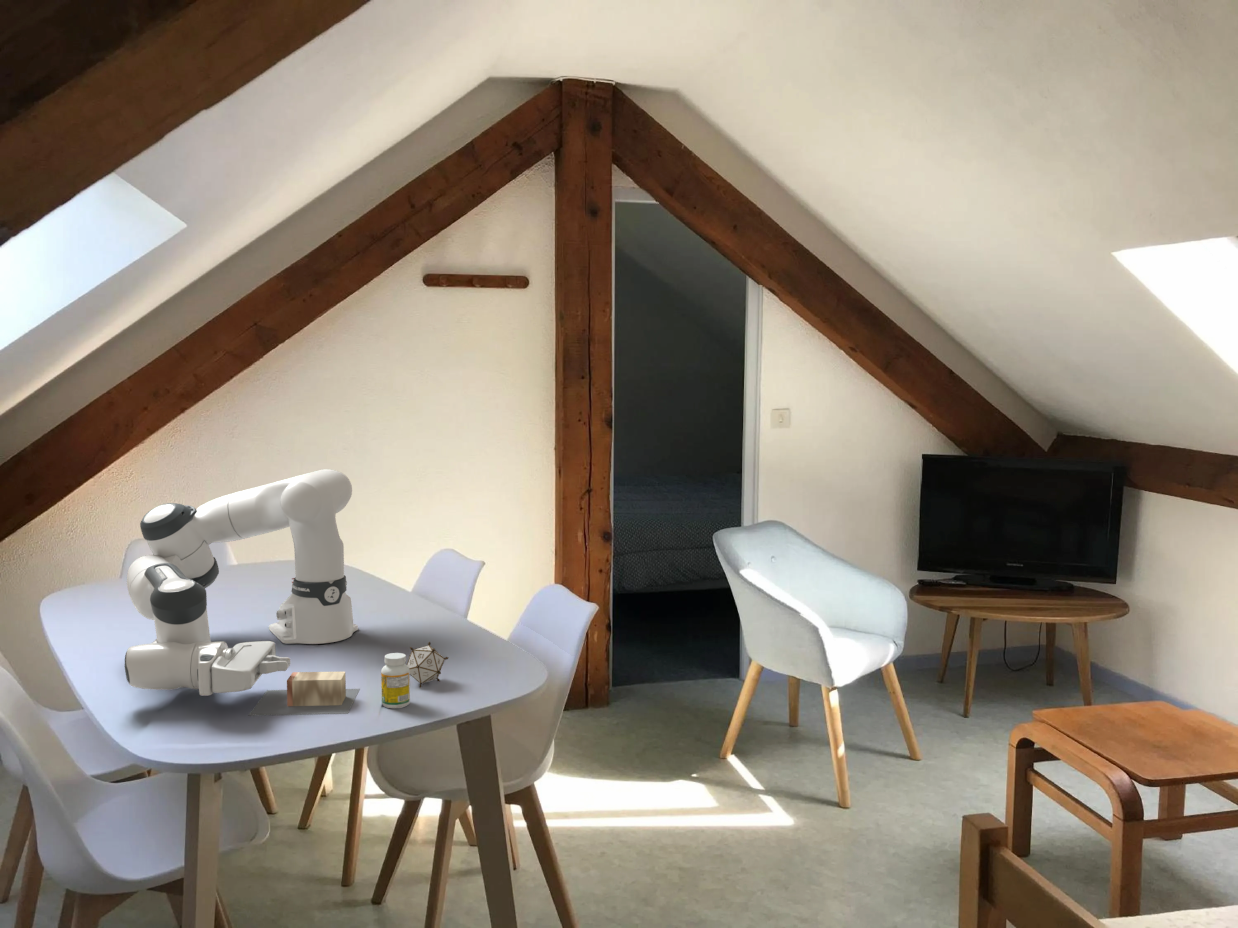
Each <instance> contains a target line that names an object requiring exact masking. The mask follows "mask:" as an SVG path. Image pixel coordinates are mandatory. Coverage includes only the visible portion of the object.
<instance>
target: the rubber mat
mask: <svg viewBox="0 0 1238 928" xmlns="http://www.w3.org/2000/svg"><path fill="white" fill-rule="evenodd" d="M360 690H361V689H360V688H346V697H345V699H344V701H343V703H342V705H329V706H287V689H267V690H266V691H265V693H264V694H263V696H262V697H261V698H260V699H259V700H258V702H257V703H256V704H255V705H254V707H253V708H252V710H251V711H250V713H249V714H248V716H250V717H251V716H253V717H254V716H290V715H291V716H295V715H296V716H298V715H300V716H301V715H305V716H306V715H308V716H309V715H344V714H345V715H347V714H349V712H350V710H351V708H352V706H353V704H354V702H355V699H356V698H357V695H358V694H359V692H360Z"/></svg>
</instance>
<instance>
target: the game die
mask: <svg viewBox="0 0 1238 928" xmlns="http://www.w3.org/2000/svg"><path fill="white" fill-rule="evenodd" d="M409 650H410V651H411V652H410V654H409V657H408V660H407V661H406V662H407V663H406V665H407V666H408V667H409V669H410V677H412V678H413V679H414V680H415V681H416V682H418V684H419V688H420V689H421V688H422V687H423V684H425V683H428V682H432V681H435V680H436V681H437V682H441V679H440V678H439V676H440V675H441V674H442V673H441V671H442V668H443V665H444V662H445V660H448V659H449V657H448V656H445V657H444V656H443V655H441V654H440V653H439V652H438V650H436V648H434V647H432V646H431V641H429V642H428V643H427V645H423V646H422V647H417V648H413V647H412V646H409Z"/></svg>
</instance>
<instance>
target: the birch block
mask: <svg viewBox="0 0 1238 928" xmlns="http://www.w3.org/2000/svg"><path fill="white" fill-rule="evenodd" d="M346 678H347V677H346V671H302V672H301V671H300V672H299V671H293V672H292V673H291V674H290V676H288V678H287V680H286V690H287V706H329V705H342V703H343V701H344V699H345V697H346V689H347V688H346V687H347V685H346V683H347V681H346V680H347V679H346Z"/></svg>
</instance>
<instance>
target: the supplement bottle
mask: <svg viewBox="0 0 1238 928" xmlns="http://www.w3.org/2000/svg"><path fill="white" fill-rule="evenodd" d="M406 662H407V655H406V654H405V653H402V652H391V653H386V654H385V655H384V664H385V665H384V666H383V667H382V668H381V672H380V673H381V674H380V675H381V676H380V679H381V680H380V681H381V683H380V684H381V685H380V687H381V704H382V706H383V707H385V708H387V709H402V708H405V707H407V706H409V705H410V703H411V683H410V679H411V678H410V677H411V675H410V669H409V667H408V666H407V663H406Z"/></svg>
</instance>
